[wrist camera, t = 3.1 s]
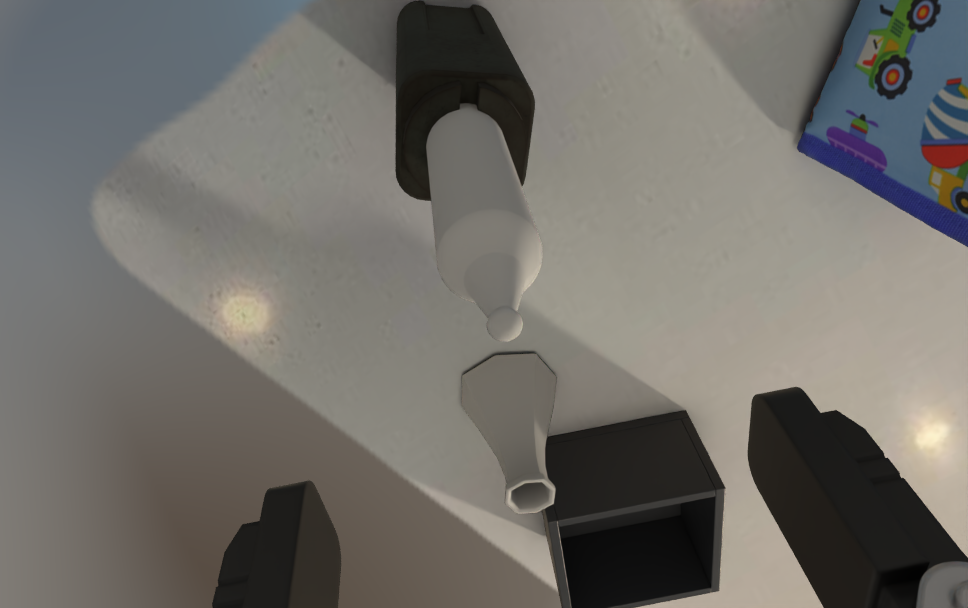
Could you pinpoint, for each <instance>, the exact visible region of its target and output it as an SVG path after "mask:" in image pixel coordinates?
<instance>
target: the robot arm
mask: <svg viewBox="0 0 968 608" xmlns="http://www.w3.org/2000/svg"><path fill="white" fill-rule="evenodd" d="M748 461H749V467H750V471H751V474H752V477H753V480H754V482H755V484H756V486H757V488H758V490H759V492H760V494H761V496H762V497H763V499H764V501H765V503H766V505H767V506H768V508H769V510H770V512H771V514H772V515H773V517H774V519H775V521H776V522H777V524H778V526H779V528H780V530H781V531H782V533H783V535H784V537H785V539H786V540H787V542H788V544H789V546H790V548H791V549H792V551H793V553H794V555H795V557H796V558H797V560H798V562H799V564H800V566H801V567H802V569H803V571H804V573H805V575H806V576H807V578H808V580H809V582H810V584H811V585H812V587H813V589H814V591H815V593H816V594H817V596H818V598H819V600H820V602H821V603H822V605H823V607H824V608H968V558H967V557H966V555H965V554H964V553H963V552H962V551H961V550H960V548H959V547H958V546H957V545H956V543H955V542H954V541H953V540H952V538H951V537H950V536H949V535H948V533H947V532H946V531H945V529H944V528H943V527H942V526H941V524H940V523H939V522H938V521H937V519H936V518H935V517H934V516H933V514H932V513H931V512H930V511H929V509H928V508H927V507H926V506H925V504H924V503H923V502H922V500H921V499H920V498H919V497H918V495H917V494H916V493H915V492H914V490H913V489H912V488H911V487H910V485H909V484H908V483H907V482H906V480H905V479H904V478H901V477H900V473H899V471H898V470H897V469H896V468H895V466H894V465H893V464H892V463H891V461H890V460H889V459H888V458H885V456H884V453H883V451H882V450H881V449H880V448H879V446H878V445H877V444H876V442H875V441H874V440H873V439H872V437H871V436H870V435H869V434H868V432H867V431H866V430H865V429H864V428H863V427H861V426H860V425H858V424H857V423H855V422H854V421H852V420H851V419H849V418H848V417H846V416H845V415H843V414H841V413H840V412H838V411H837V410H834V411H829V412H824V413H820V412H819V411H818V409H817V408H816V406H815V405H814V404H813V402H812V401H811V400H810V398H809V397H808V396H807V394H806V393H805V392H804V391H803V390H802V389H801V388H799V387H793V388H788V389H783V390H777V391H772V392H767V393H762V394H757V395H755V396H754V397H753V399H752V406H751V418H750V430H749V442H748ZM340 571H341V553H340V545H339V540H338V536H337V533H336V530H335V528H334V526H333V524H332V521H331V520H330V517H329V515H328V513H327V511H326V509H325V506H324V504H323V502H322V500H321V498H320V495H319V493H318V491H317V489H316V487H315V485H314V484H313V482H312V481H305V482H300V483H295V484H289V485H284V486H279V487H274V488H270V489H268V490H267V492H266V494H265V497H264V502H263V507H262V512H261V517H260V521H258V522H253V523H247V524H243V525H242V526H241V528H240V529H239V531H238V532H237V534H236V535H235V537H234V538H233V540H232V542H231V543H230V545H229V546H228V548H227V549H226V551H225V553H224V557H223V561H222V566H221V570H220V574H219V578H218V584H219V585H218V587H216V591H215V595H214V599H213V603H212V606H213V608H338V599H339V585H340V573H341V572H340Z"/></svg>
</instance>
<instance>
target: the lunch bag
mask: <svg viewBox="0 0 968 608" xmlns="http://www.w3.org/2000/svg"><path fill="white" fill-rule="evenodd" d="M797 149H798V151H799V152H801V153H804V154H805V155H806V156H808V157H810V158H812V159H814V160H816V161H818V162H820V163H822V164H824V165H825V166H827V167H829V168H831V169H833V170H835V171H837V172H839V173H841V174H843V175H844V176H846V177H848V178H850V179H852V180H854V181H855V182H857V183H859V184H860V185H862V186H863V187H865V188H866V189H868V190H870V191H872V192H873V193H875V194H876V195H878V196H880V197H881V198H883V199H885V200H887V201H888V202H890V203H892V204H893V205H895V206H897V207H898V208H900V209H901V210H903V211H905V212H907V213H909V214H910V215H912V216H914V217H915V218H917V219H919V220H921V221H923V222H924V223H926V224H927V225H929V226H930V227H932V228H934V229H936V230H938V231H940V232H942V233H943V234H945V235H947V236H949V237H950V238H952V239H954V240H956V241H958V242H960V243H962V244H963V245H965V246H967V247H968V0H861V1H860V3H859V5H858V8H857V10H856V12H855V15H854V17H853V20H852V22H851V25H850V27H849V29H848V30H847V32H846V35H845V37H844V40H843V43H842V46H841V49H840V53H839V55H838V57H837V58H836V60H835V62H834V65H833V67H832V69H831V72H830V74H829V76H828V79H827V81H826V83H825V86H824V88H823V90H822V92H821V94H820V96H819V98H818V100H817V102H816V104H815V106H814V108H813V111H812V113H811V118H810V121H809V122H808V123H807V125H806V129H805V131H804V132H803V134H802V137H801V139H800V141H799V143H798V146H797Z"/></svg>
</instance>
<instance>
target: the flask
mask: <svg viewBox="0 0 968 608" xmlns="http://www.w3.org/2000/svg"><path fill="white" fill-rule="evenodd" d="M556 380H557V377H556V376H555V375H554V374H553V373H552V371H551V370H550V369H549V368H548V367H547V366H546V365H545V364H544V362H543V361H542V360H541V359H540V358H539V357H538V356H537V355H536V354H513V355H495V356H493V357H492V358H490V359H488V360H487V361H485V362H484V363H482V364H480V365H479V366H477V367H475V368H474V369H472V370H471V371H469V372H467V373H466V374H464V375H463V376H462V407H463V408H464V410H465V411H466V413H467V414H468V416H469V417H470V419H471V420H472V421H473V423H474V424H475V425H476V427H477V428H478V429H479V431H480V432H481V434H482V435H483V437H484V438H485V440H486V441H487V443H488V444H489V446H490V447H491V449H492V450H493V452H494V453H495V455H496V456H497V458H498V461H499V463H500V465H501V468H502V470H503V473H504V475H505V478H506V483H507V484H506V492H505V504H506V505H507V506H508V507H509V508H511V509H512V510H513V511H514V512H515V513H516V514H525V513H537V512H539V511H541V510H543V509H545V508H546V507H548V506H550V505H552V504H554V498H555V486H554V484H553V483H552V482H551V481H550V480H549V479H548V476H547V471H546V467H545V446H546V440H547V434H548V430H549V425H550V421H551V417H552V412H553V406H554V398H555V389H556Z"/></svg>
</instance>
